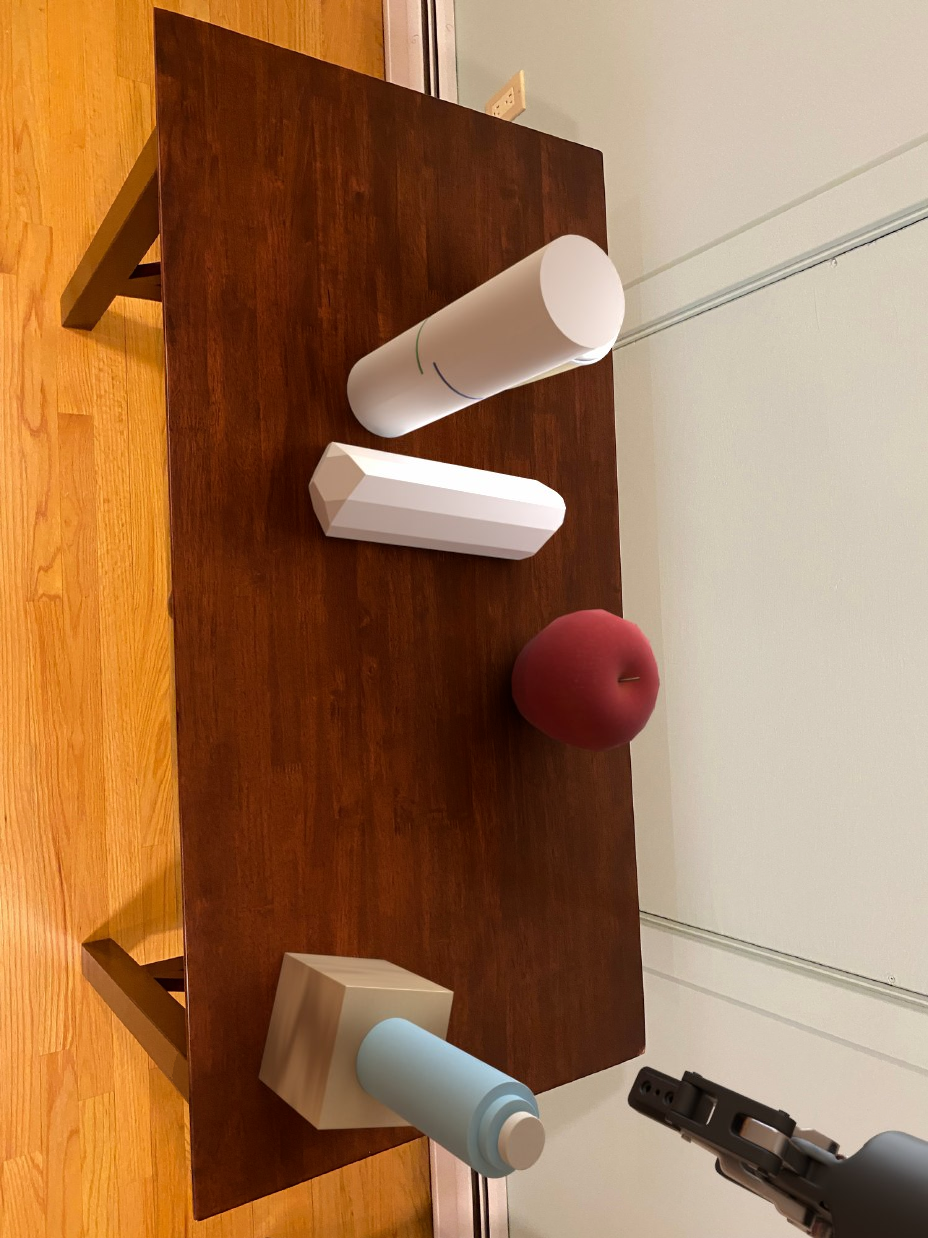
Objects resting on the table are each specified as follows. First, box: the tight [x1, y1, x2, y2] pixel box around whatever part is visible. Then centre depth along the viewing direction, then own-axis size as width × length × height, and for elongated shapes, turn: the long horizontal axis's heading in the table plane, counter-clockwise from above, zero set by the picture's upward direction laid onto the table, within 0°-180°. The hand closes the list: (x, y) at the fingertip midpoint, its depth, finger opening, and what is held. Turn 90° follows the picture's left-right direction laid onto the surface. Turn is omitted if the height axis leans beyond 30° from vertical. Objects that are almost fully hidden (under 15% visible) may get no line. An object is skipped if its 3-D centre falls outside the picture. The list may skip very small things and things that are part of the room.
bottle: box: [356, 1018, 546, 1180], centre depth 58 cm, size 5×5×15 cm
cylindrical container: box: [346, 234, 626, 439], centre depth 69 cm, size 7×7×25 cm
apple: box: [511, 608, 661, 753], centre depth 81 cm, size 12×12×13 cm
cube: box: [258, 952, 454, 1131], centre depth 68 cm, size 9×9×10 cm
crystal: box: [308, 441, 567, 561], centre depth 79 cm, size 7×7×24 cm
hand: (681, 1121), depth 51 cm, fingers open, 8 cm apart
